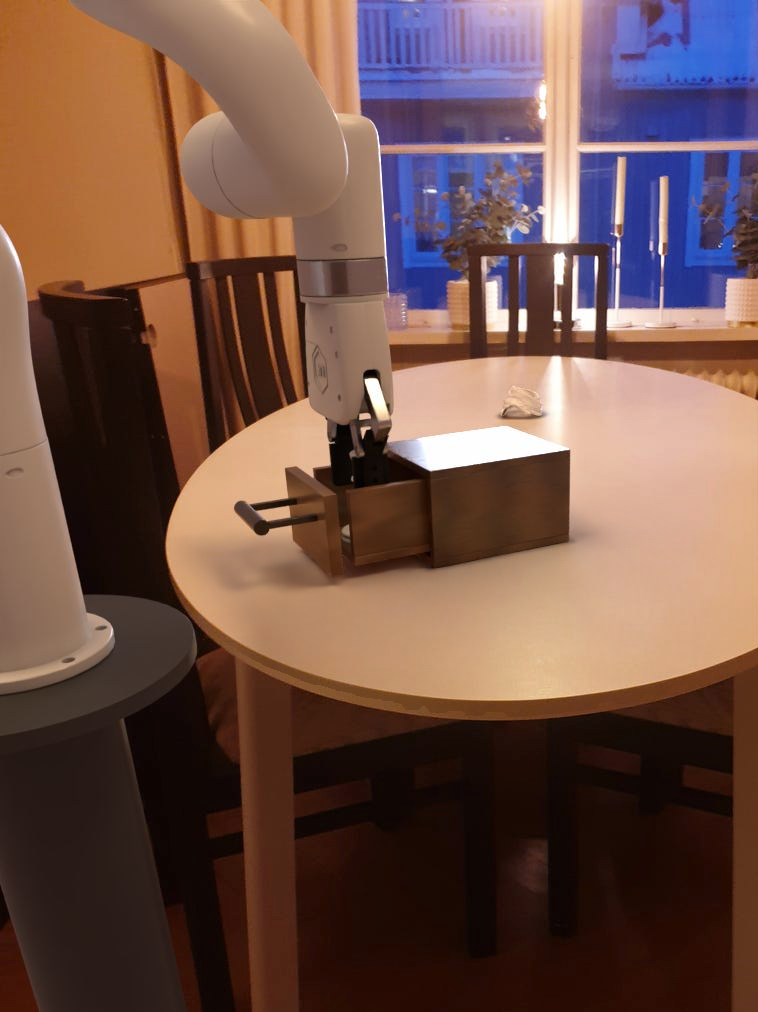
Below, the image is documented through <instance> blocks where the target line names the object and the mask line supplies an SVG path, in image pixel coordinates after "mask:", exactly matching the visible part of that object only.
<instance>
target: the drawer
mask: <svg viewBox="0 0 758 1012" xmlns="http://www.w3.org/2000/svg"><path fill="white" fill-rule="evenodd" d="M387 458H388V472H389V484H382V485H376V486H370V487H363V488H357V489H354V484H350V485H344V486H335V485H334V484H333V482H332V473H331V464H330V465H323V466H316V467H312V473H313V476H312V475H310V474H309V473H307V472H305V471H304V470H303V469H301V468H300V467H299V466H297V465H295V466H289V467H288V466H287V467H285V468H284V475H285V482H286V492H287V498H280V499H279V498H278V499H274V500H267V501H261V502H254V503H249V502H247V501H246V500H238V501H237V502H235V503H234V506H233V510H234V513H235V514H236V515H237V516H238V517H239V518H240V519H241V520H242V521H243V522H244V523H245V524H246V525H247V526H248V528H250V530H251V531H252V532H254V533H255V534H256V535H257V536H260V537H263V536H266V535H268V534H269V532H270V530H273V529H280V528H284V527H291V534H292V541H293V542H294V543H295V544H296V545H297V546H298V547H299V548H300V549H301V550H302V551H303V552H304V553H305V554H306V555H308V556H309V557H310V558H311V559H312V560H313V561H314V562H315V563H316V564H317V565H318V566H319V567H321V569H323V571H325V572H326V573H327V574H328V575H329V576H330V577H336V576H341V575H344V574H345V569H344V560H343V559H344V558H345V559H346V560H348V562H350V563H351V564H352V565H353V566H355V567H357V566H361V565H362V566H363V565H368V564H373V563H378V562H381V561H386V560H387V561H388V560H393V559H398V558H403V557H408V556H409V557H410V556H413V555H416V554H419V553H424V552H429V551H430V532H429V513H428V494H427V478H426V477H424V476H422V475H420V474H419V473H417V472H415V471H413V470H411V469H409V468H407V467H405V466H404V465H402V464H400V463H398V462H396V461H394V460H392V459H391V458H389V457H387ZM284 507H288V508H289V517H285V518H277V519H272V520H266V519H265V518H264V517H263V516H262V515H261V514H260V513H259V511H265V510H272V509H278V508H284ZM347 525H349V532H350V543H347V542H345V541H343V540H342V539H341V536H342V533H341V531H342V529H343V528H344V527H345V526H347ZM343 557H344V558H343Z"/></svg>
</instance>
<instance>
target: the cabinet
mask: <svg viewBox="0 0 758 1012" xmlns="http://www.w3.org/2000/svg"><path fill="white" fill-rule="evenodd" d="M387 443H388V454H387V457H389V458H391V459H392V460H394V461H396V462H398V463H400V464H402V465H404V466H405V467H407V468H409V469H411V470H413V471H415V472H417V473H419V474H420V475H422V476H424V477H426V478H427V494H428V513H429V532H430V551H429V552H424V553H419V554H415V555H416V556H417V557H418V558H420V559H422V561H424V562H425V563H427V564H428V565H430V566H431V567H433V568H434V569H436V568H443V567H447V566H452V565H457V564H462V563H467V562H472V561H476V560H482V559H486V558H491V557H497V556H501V555H506V554H511V553H516V552H521V551H526V550H531V549H536V548H540V547H541V548H542V547H545V546H551V545H556V544H560V543H565V542H569V541H570V510H571V509H570V507H571V504H570V503H571V494H570V493H571V449H570V448H568V447H564V446H562V445H559V444H556V443H553V442H551V441H548V440H545V439H542V438H539V437H537V436H535V435H532V434H529V433H526V432H523V431H520V430H519V429H515V428H512V427H510V426H507V425H504V426H498V427H497V426H496V427H489V428H482V429H477V430H476V429H474V430H467V431H461V432H454V433H446V434H440V435H439V434H438V435H433V436H432V435H431V436H424V437H418V438H410V439H403V440H396V441H389V442H388V441H387Z"/></svg>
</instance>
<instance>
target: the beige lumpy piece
mask: <svg viewBox="0 0 758 1012" xmlns="http://www.w3.org/2000/svg"><path fill="white" fill-rule="evenodd" d="M507 395H508V397H507V399H506V398H505V399H504V400H503V404H502V410H501V411H500V416H501V417H504V416H507V415H508V414H509V412H510V411H511V410H512V409H513V408H515V409H516V410H519V411H520V412H522V413H523V414H525V415H526V416H530V415H535V416H537V417H540V416H542V415H543V409H542V407H543V405H544V402H543V401H542V400H541V396H540V395H539V394H538V393H537V392H536V391H534V390H532V389H528V388H524V387H522V386H514V385H513V386H511V388H510V389H509V391H508V392H507Z"/></svg>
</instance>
